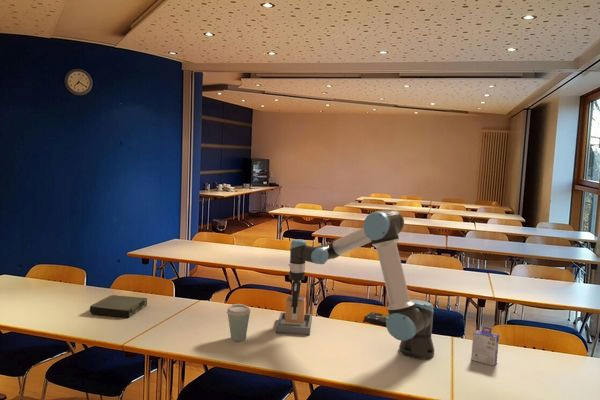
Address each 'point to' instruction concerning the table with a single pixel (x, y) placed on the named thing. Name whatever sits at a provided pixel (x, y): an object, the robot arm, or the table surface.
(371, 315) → the disk drive
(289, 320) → the toner caddy
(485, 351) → the ink cartridge box
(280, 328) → the tray
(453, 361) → the table surface
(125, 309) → the network switch
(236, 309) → the disposable coffee cup
